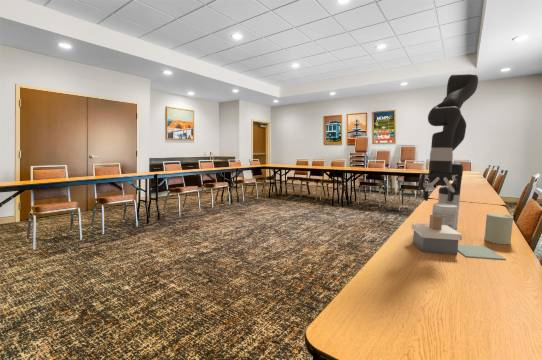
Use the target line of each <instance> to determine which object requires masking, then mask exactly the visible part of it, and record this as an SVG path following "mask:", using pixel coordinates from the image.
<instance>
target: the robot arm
mask: <svg viewBox="0 0 542 360" xmlns="http://www.w3.org/2000/svg"><path fill="white" fill-rule="evenodd" d="M478 85H479V76H478V75H477V74H476V73H457V74H451V75H450V76H449V78H448V79H447V86H446V96H445V97H444V98H443V100H442V102H440V103H438V104H437V105H435V106H433V107H432V108H431V110H430V111H429V112H428V114H427V121H428V123H429V125H430V126H432V127H442V131H438V132H435V133H433V134H432V135H431V145H430V146H431V148H430V153H429V165H428V173H427V174H424V173H420V174H419V178H418V185H417V188H418V189H419V190H421V191H422V199H423V200H424V201H425V202H427V201H428V200H429V190H430V189H431V188H433V186H435V187H436V186H437V187H438V186H440V187H439V189H438V195H437V197H438V199H437V203H446V204H453V205H456V206H457V219H456V229H458V222H459V210H460V201H461V188H462V187H461V186H462V179H463V172H464V166H463V163H461V162H453V157H454V156H453V155H454V153H453V152H454V150H456V149H457V147H459V146H460V144H461V143H462V142H463V141H464V139H465V136H466V130H467V122H466V120H465V118H464V116H463V115H462V112H461V108H462V106H463V104H464V103H465V102H466V101H468V100H469V99H470V98H471V97H472V96H474V94H475V92H476V91H477V89H478ZM427 179H428V182H426V184H425V180H427ZM451 181H452V183H451ZM424 184H425V185H424Z"/></svg>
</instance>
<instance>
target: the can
mask: <svg viewBox="0 0 542 360" xmlns="http://www.w3.org/2000/svg"><path fill="white" fill-rule="evenodd" d="M513 222H514V216H513V215H510V214H509V215H508V214H504V213H499V212H498V213H497V212H491V213H490V212H489V213H486V219H485V229H484V238H483V240H484V241H485V240H486V242H488V241H489V242H488V243H491V242H492V244H495V243H497V245H502V244H509V245H511V244H512V233H513V232H512V231H513ZM510 243H511V244H510Z"/></svg>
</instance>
